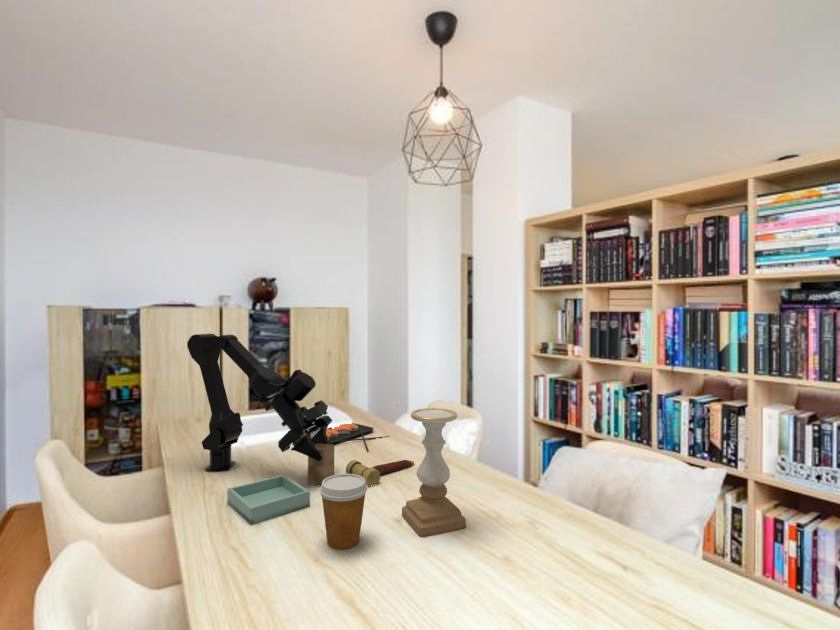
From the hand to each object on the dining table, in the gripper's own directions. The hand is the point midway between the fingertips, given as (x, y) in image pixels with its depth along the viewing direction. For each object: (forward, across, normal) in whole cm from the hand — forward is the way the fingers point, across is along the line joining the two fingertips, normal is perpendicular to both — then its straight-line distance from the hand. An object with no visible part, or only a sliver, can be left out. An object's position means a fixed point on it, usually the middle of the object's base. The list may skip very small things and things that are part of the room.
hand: (326, 456), depth 121 cm
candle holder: (+28, -12, -18) cm, 36 cm away
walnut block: (+4, 0, +6) cm, 7 cm away
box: (+1, -16, +9) cm, 19 cm away
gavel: (+14, +12, -3) cm, 19 cm away
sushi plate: (-2, +37, +13) cm, 39 cm away
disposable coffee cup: (+18, -26, -8) cm, 33 cm away
